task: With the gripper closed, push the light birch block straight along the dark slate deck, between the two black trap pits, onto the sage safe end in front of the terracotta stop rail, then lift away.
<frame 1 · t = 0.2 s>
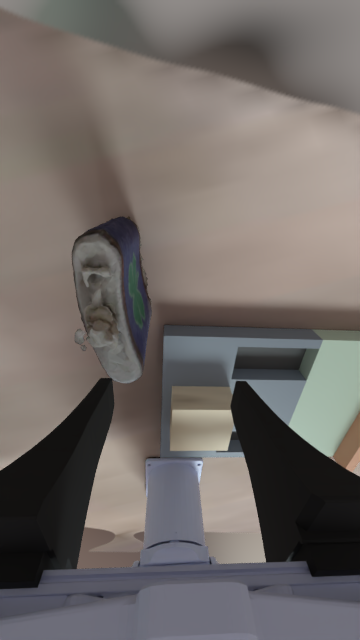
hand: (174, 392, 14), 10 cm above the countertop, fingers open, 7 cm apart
trap deck: (263, 394, 28), on the countertop
birch block: (198, 407, 25), point 2 cm above the countertop, touching trap deck
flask: (131, 272, 20), on the countertop
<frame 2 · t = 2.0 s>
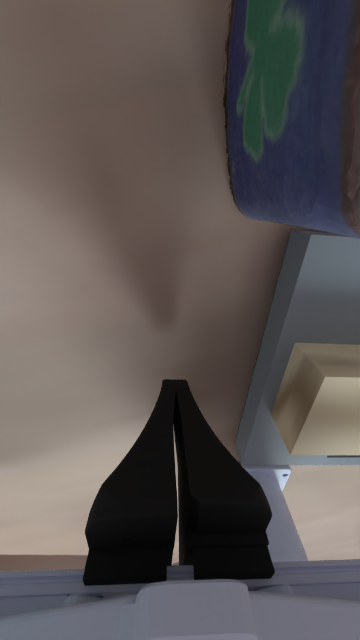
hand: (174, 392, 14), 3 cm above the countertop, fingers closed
birch block: (325, 382, 15), point 2 cm above the countertop, touching trap deck
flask: (255, 106, 10), on the countertop
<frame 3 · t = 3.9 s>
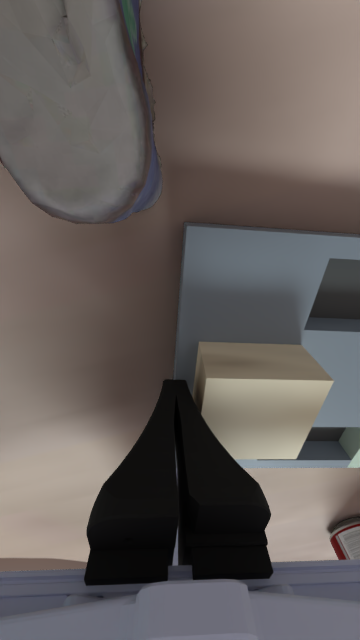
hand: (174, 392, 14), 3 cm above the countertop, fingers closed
trap deck: (338, 366, 17), on the countertop
birch block: (241, 383, 15), point 2 cm above the countertop, touching gripper, trap deck
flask: (121, 88, 10), on the countertop
soda can: (352, 524, 29), on the countertop
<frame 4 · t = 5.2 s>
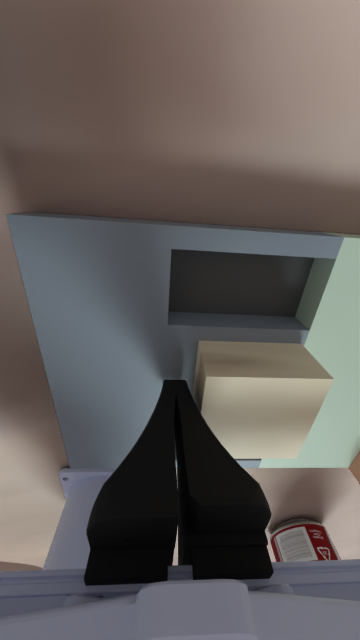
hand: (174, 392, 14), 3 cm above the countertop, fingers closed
trap deck: (235, 363, 16), on the countertop
birch block: (241, 382, 15), point 2 cm above the countertop, touching gripper
soda can: (294, 525, 29), on the countertop
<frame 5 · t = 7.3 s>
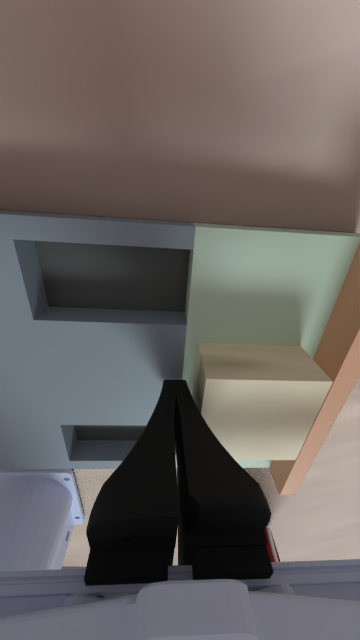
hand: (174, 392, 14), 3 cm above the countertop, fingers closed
trap deck: (137, 360, 16), on the countertop
birch block: (240, 384, 15), point 2 cm above the countertop, touching gripper, trap deck
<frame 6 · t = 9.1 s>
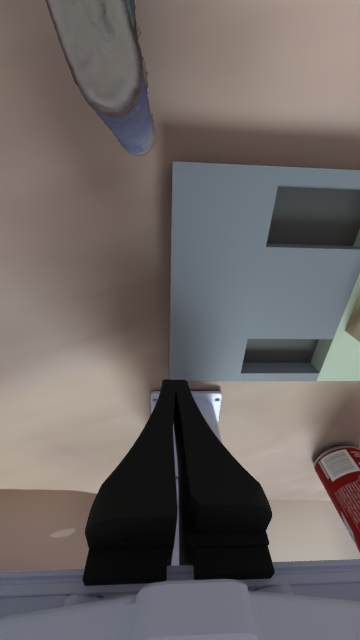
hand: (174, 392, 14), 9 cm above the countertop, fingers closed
trap deck: (302, 289, 21), on the countertop
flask: (124, 64, 14), on the countertop
soda can: (334, 454, 33), on the countertop
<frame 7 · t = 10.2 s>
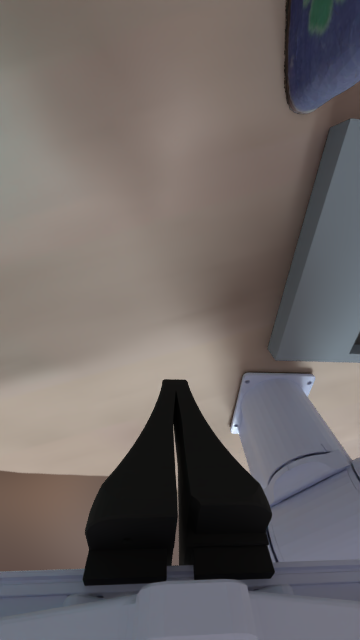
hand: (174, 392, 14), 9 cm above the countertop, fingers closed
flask: (309, 15, 13), on the countertop
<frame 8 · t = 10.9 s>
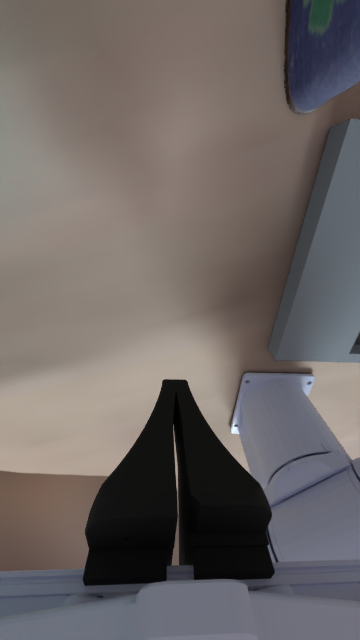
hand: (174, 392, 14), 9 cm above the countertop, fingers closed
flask: (309, 14, 13), on the countertop
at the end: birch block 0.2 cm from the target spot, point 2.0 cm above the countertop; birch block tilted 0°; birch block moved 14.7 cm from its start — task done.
